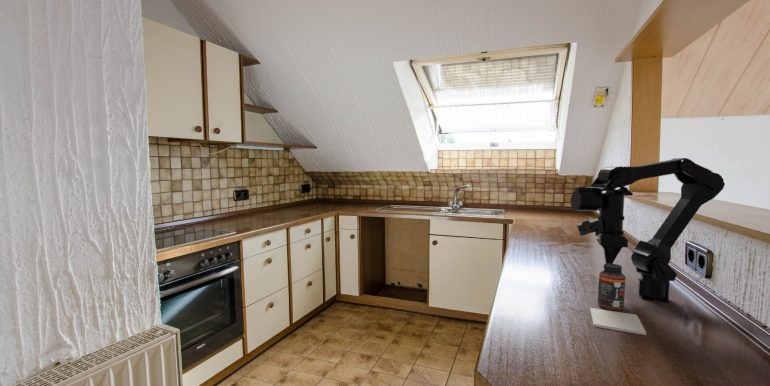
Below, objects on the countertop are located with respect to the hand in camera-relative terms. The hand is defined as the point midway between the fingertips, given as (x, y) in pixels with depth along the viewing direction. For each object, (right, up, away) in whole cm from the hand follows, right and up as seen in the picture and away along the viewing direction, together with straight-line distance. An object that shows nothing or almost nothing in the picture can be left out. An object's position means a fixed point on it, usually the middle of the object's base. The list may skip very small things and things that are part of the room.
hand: (608, 266), depth 105 cm
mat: (-8, -10, -17) cm, 21 cm away
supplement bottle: (-4, -10, -7) cm, 13 cm away
